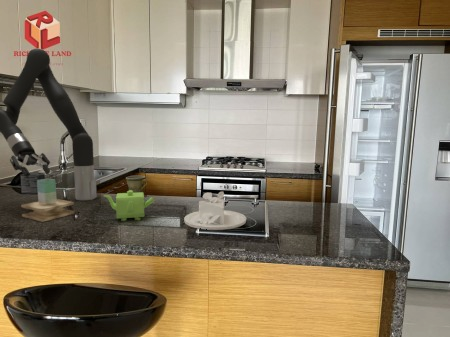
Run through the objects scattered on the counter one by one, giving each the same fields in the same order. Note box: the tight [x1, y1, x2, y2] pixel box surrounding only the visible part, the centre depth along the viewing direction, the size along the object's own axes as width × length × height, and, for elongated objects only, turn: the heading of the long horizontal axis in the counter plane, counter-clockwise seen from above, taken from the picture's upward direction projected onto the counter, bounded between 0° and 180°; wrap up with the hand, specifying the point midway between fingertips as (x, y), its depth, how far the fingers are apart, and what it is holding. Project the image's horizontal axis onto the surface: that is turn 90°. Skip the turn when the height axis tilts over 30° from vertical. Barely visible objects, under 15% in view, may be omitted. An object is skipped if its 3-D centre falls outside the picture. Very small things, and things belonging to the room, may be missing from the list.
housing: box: [37, 178, 58, 205], centre depth 135 cm, size 5×5×10 cm
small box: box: [19, 173, 46, 195], centre depth 180 cm, size 11×6×10 cm, turn 84°
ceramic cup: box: [125, 175, 149, 193], centre depth 175 cm, size 13×10×10 cm
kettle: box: [104, 189, 155, 222], centre depth 133 cm, size 15×14×11 cm
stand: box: [20, 198, 75, 223], centre depth 136 cm, size 14×14×5 cm
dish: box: [183, 191, 247, 231], centre depth 131 cm, size 25×25×11 cm
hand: (38, 174), depth 137 cm, fingers open, 8 cm apart
